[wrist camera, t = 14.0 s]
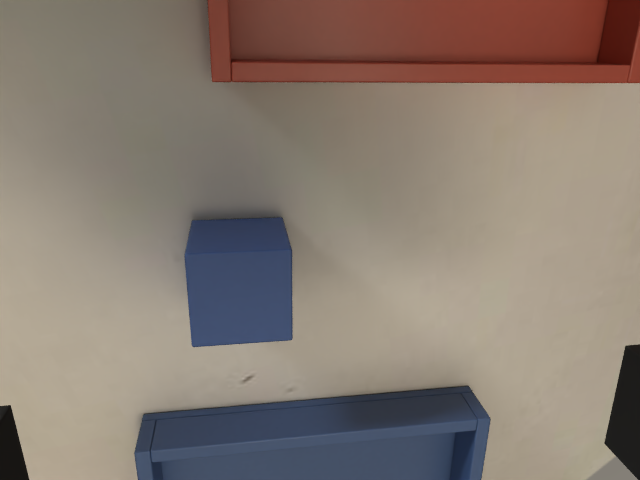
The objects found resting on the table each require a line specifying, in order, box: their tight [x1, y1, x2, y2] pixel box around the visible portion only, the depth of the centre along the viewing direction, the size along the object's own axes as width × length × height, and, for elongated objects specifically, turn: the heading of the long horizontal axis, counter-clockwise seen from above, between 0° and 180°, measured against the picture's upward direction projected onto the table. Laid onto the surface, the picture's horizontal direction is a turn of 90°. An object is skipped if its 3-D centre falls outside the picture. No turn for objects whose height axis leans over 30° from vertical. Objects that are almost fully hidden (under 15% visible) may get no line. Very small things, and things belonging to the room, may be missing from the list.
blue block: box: [185, 217, 293, 347], centre depth 26 cm, size 5×5×5 cm
